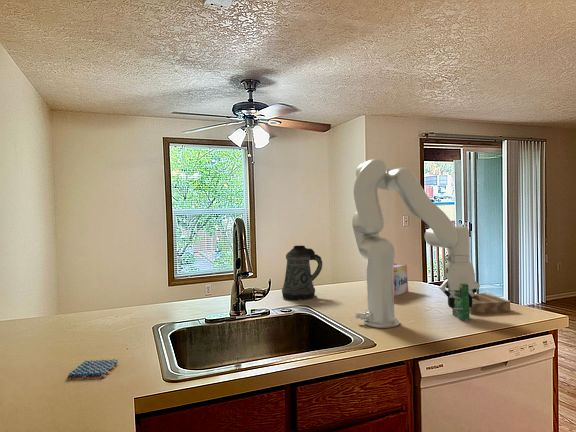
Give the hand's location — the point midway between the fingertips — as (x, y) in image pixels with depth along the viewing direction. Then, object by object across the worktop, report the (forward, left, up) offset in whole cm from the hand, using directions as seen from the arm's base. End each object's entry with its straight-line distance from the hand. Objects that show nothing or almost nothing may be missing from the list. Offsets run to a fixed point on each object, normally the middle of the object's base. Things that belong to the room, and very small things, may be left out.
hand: (460, 306), depth 148 cm
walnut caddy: (+14, +11, -4) cm, 18 cm away
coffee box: (0, 0, -4) cm, 4 cm away
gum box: (-11, +44, -4) cm, 46 cm away
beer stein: (-54, +51, -4) cm, 74 cm away
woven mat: (-122, -28, -5) cm, 125 cm away
